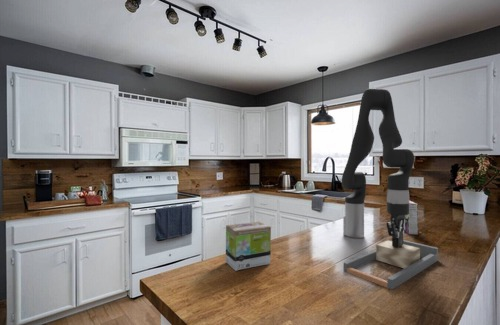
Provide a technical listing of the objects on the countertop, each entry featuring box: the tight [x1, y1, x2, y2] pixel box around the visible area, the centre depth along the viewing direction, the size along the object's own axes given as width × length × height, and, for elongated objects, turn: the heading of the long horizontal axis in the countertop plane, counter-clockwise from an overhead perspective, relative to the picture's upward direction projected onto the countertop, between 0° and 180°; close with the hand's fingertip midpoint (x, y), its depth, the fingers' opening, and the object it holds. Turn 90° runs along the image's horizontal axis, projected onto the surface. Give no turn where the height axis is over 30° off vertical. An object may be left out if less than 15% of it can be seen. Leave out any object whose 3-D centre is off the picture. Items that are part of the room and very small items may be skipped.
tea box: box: [225, 221, 272, 272], centre depth 102 cm, size 15×10×15 cm
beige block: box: [375, 231, 421, 269], centre depth 101 cm, size 12×9×12 cm
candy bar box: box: [405, 200, 419, 236], centre depth 143 cm, size 11×5×16 cm, turn 168°
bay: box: [342, 239, 439, 290], centre depth 99 cm, size 17×38×5 cm, turn 127°
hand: (397, 245), depth 101 cm, fingers closed on beige block, 3 cm apart
